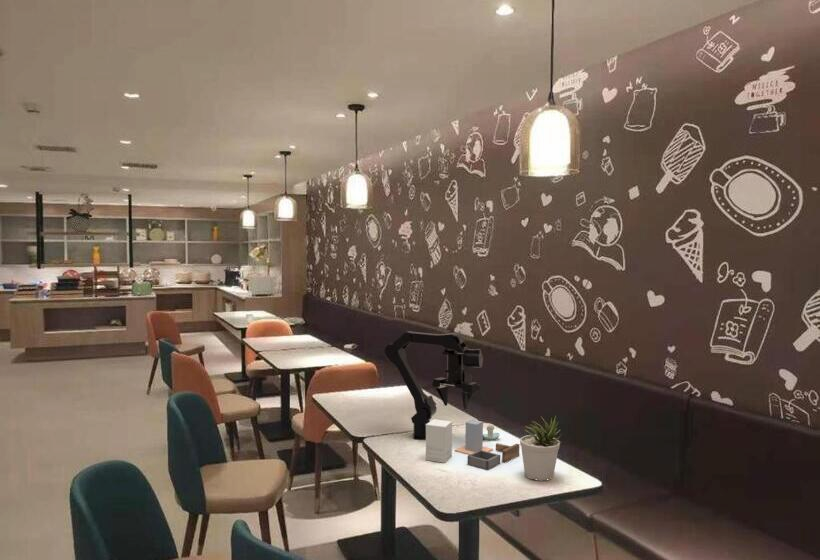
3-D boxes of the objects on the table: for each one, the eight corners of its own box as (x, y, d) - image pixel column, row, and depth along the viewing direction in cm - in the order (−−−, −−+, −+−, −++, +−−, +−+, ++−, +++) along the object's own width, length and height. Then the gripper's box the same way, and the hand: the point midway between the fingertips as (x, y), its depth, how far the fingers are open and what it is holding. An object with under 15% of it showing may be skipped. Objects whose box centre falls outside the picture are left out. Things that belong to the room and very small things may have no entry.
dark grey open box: (467, 464, 199) (467, 455, 199) (480, 458, 205) (480, 449, 205) (487, 470, 194) (487, 461, 194) (500, 463, 200) (500, 454, 200)
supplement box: (452, 456, 207) (453, 421, 206) (444, 463, 200) (445, 426, 199) (433, 453, 210) (433, 418, 209) (424, 460, 203) (425, 423, 202)
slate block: (465, 449, 213) (465, 422, 212) (471, 446, 216) (472, 419, 216) (475, 452, 210) (476, 424, 210) (482, 449, 213) (482, 421, 213)
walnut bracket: (482, 456, 207) (482, 445, 206) (497, 449, 214) (497, 438, 214) (505, 462, 201) (505, 451, 201) (519, 455, 209) (519, 444, 209)
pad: (454, 451, 212) (454, 449, 212) (469, 444, 220) (469, 442, 220) (478, 457, 206) (478, 456, 206) (492, 450, 214) (492, 448, 214)
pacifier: (477, 437, 229) (483, 442, 223) (477, 421, 229) (483, 425, 223) (494, 436, 231) (501, 440, 225) (494, 420, 231) (501, 424, 225)
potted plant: (536, 487, 180) (538, 423, 179) (511, 472, 193) (512, 411, 192) (569, 481, 185) (571, 419, 184) (543, 466, 198) (544, 408, 197)
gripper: (487, 365, 222) (488, 406, 223) (448, 360, 234) (449, 399, 235) (470, 370, 214) (471, 412, 214) (430, 365, 226) (431, 405, 227)
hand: (455, 407), depth 223 cm, fingers open, 9 cm apart
